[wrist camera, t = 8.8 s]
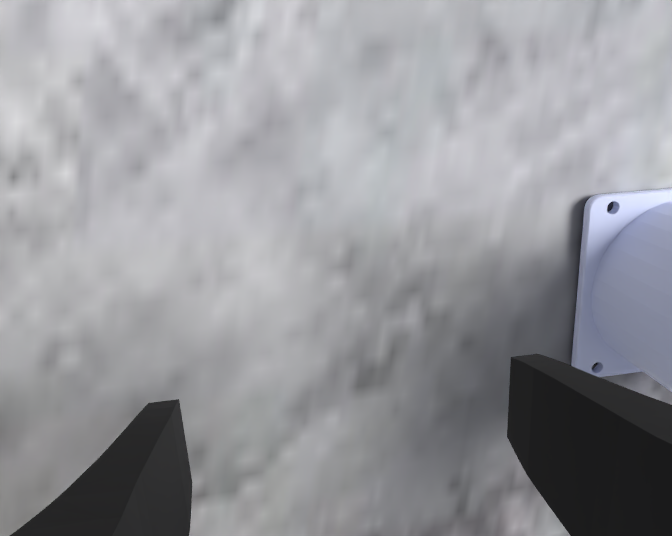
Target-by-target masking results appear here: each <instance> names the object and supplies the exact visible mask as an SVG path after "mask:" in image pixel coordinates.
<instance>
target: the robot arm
mask: <svg viewBox="0 0 672 536" xmlns="http://www.w3.org/2000/svg"><path fill="white" fill-rule="evenodd" d="M610 202H613V208H612V209H611V210H610V211H609V212H607V206H608V204H609V203H610ZM597 362H598V364H597V366H596V367H595V368H593V369H591V368H592V366H593V365H594V364H595V363H597ZM635 372H645V373H646V374H647V375H649V376H650V377H651V378H653V379H654V380H656V381H657V382H658V383H660V384H661V385H662V386H664V387H665V388H667V389H668V390H669V391H671V392H672V188H667V189H655V190H644V191H632V192H621V193H610V194H598V195H594V196H592V197H591V198H589V199H588V201H587V202H586V204H585V208H584V219H583V231H582V243H581V255H580V267H579V279H578V291H577V303H576V315H575V326H574V338H573V350H572V362H571V366H570V365H568V364H565V363H563V362H560V361H557V360H555V359H552V358H549V357H546V356H542V355H539V354H533V355H525V356H517V357H511V367H510V388H509V410H508V431H507V437H508V439H509V441H510V443H511V445H512V447H513V449H514V451H515V453H516V455H517V457H518V459H519V461H520V463H521V464H522V466H523V468H524V470H525V472H526V474H527V475H528V477H529V478H530V480H531V481H532V483H533V484H534V485H535V487H536V488H537V490H538V491H539V493H540V494H541V495H542V497H543V498H544V500H545V501H546V502H547V504H548V505H549V507H550V508H551V509H552V511H553V512H554V513H555V515H556V516H557V518H558V519H559V520H560V522H561V523H562V524H563V526H564V527H565V529H566V530H567V531H568V533H569V534H570V535H571V536H672V405H670V404H668V403H665V402H662V401H659V400H656V399H654V398H651V397H648V396H645V395H642V394H640V393H637V392H635V391H632V390H629V389H627V388H624V387H622V386H619V385H617V384H614V383H612V382H609V381H607V380H604V379H602V378H599V377H604V376H612V375H620V374H627V373H635ZM191 498H192V479H191V472H190V466H189V460H188V453H187V447H186V441H185V435H184V428H183V422H182V416H181V409H180V403H179V399H178V400H170V401H162V402H154V403H148V404H147V405H146V406H145V408H144V409H143V410H142V411H141V412H140V413H139V414H138V415H137V416H136V418H135V419H134V420H133V421H132V422H131V423H130V424H129V426H128V427H127V428H126V429H125V430H124V431H123V432H122V433H121V435H120V436H119V437H118V438H117V439H116V440H115V441H114V442H113V443H112V445H111V446H110V447H109V448H108V449H107V450H106V451H105V452H104V453H103V454H102V455H101V456H100V458H99V459H98V460H97V461H96V462H94V463H93V464H92V465H91V466H90V467H89V468H88V469H87V470H86V471H85V472H84V473H83V474H82V475H81V476H80V477H79V478H78V479H77V480H76V481H75V482H74V483H73V484H72V485H71V486H70V487H69V488H68V489H67V490H66V491H65V492H63V493H62V494H61V495H60V496H59V497H58V498H57V499H55V500H54V501H53V502H52V503H51V504H50V505H48V506H47V507H46V508H45V509H44V510H42V511H41V512H40V513H39V514H37V515H36V516H35V517H34V518H32V519H31V520H30V521H29V522H27V523H26V524H25V525H24V526H22V527H21V528H20V529H18V530H17V531H16V532H14V533H13V534H12V535H10V536H189V531H190V519H191Z"/></svg>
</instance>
